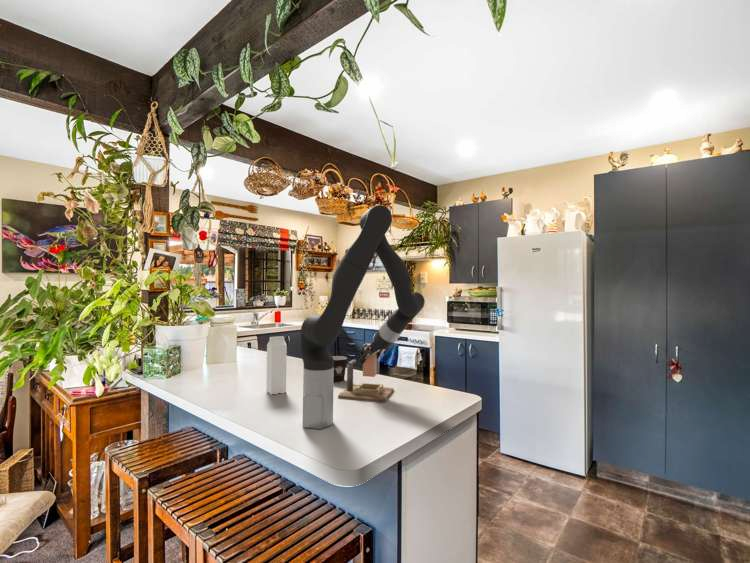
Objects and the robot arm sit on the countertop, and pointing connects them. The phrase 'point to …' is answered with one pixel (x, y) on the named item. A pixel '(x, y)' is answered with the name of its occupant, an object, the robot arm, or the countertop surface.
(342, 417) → the countertop surface
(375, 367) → the link block
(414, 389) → the countertop surface
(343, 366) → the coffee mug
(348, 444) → the countertop surface
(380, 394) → the pintle seat
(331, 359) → the robot arm
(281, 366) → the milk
